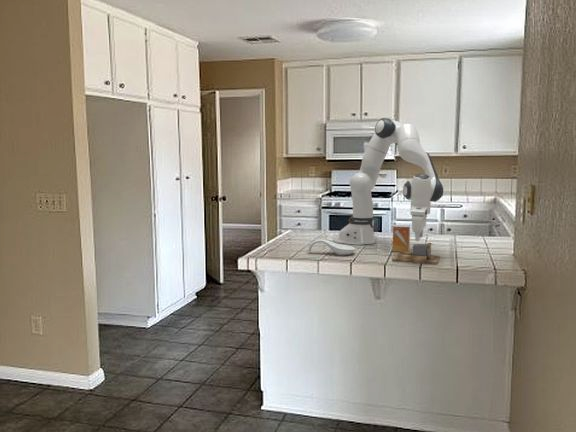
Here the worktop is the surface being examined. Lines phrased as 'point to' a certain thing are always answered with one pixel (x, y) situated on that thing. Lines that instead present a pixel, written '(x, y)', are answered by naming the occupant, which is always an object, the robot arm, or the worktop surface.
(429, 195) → the robot arm
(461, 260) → the worktop surface
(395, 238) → the small box
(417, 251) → the grey block
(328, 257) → the worktop surface
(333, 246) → the spoon rest
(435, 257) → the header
